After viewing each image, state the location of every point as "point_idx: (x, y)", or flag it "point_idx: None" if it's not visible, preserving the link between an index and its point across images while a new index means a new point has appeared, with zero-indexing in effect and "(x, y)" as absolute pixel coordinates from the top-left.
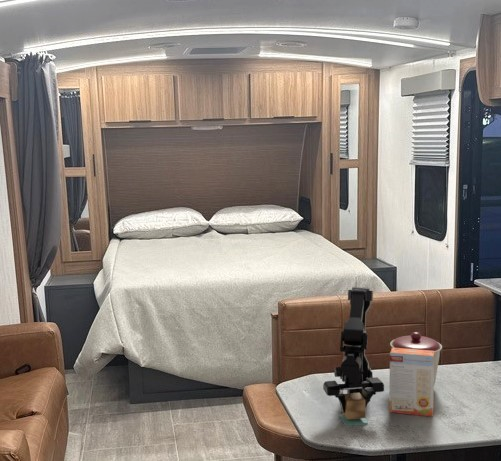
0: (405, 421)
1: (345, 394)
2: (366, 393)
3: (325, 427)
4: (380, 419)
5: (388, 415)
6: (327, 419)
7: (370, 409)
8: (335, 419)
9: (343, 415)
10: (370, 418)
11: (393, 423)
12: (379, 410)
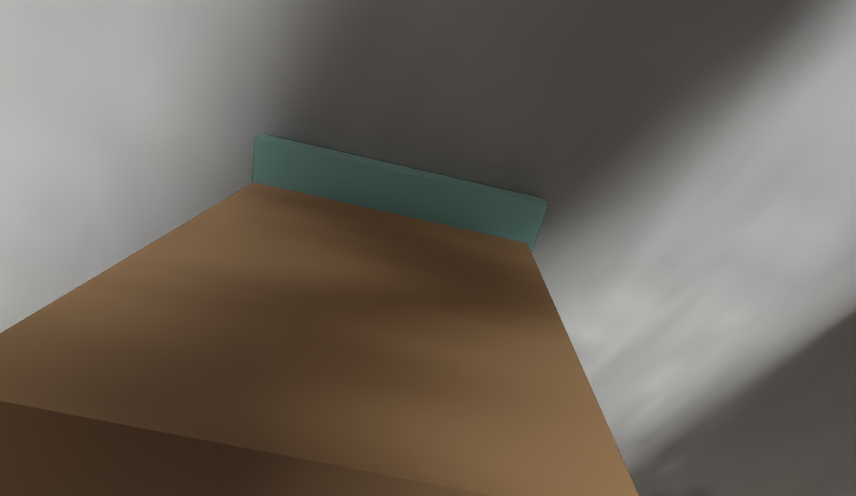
0: (820, 478)
1: (70, 459)
2: None
3: (43, 302)
4: (656, 372)
5: (809, 336)
6: (93, 145)
7: (781, 107)
8: (192, 185)
9: (301, 178)
10: (582, 318)
11: (694, 467)
12: (852, 187)
